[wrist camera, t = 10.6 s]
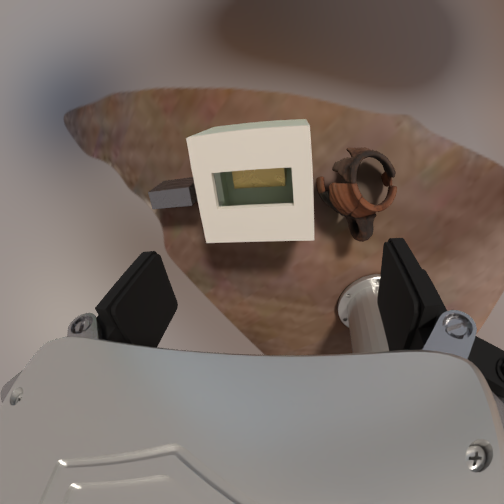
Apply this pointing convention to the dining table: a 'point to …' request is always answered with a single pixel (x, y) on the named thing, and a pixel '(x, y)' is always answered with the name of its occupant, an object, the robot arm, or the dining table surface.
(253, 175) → the block
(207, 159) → the cream slotted box
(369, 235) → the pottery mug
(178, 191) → the block
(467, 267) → the dining table surface
